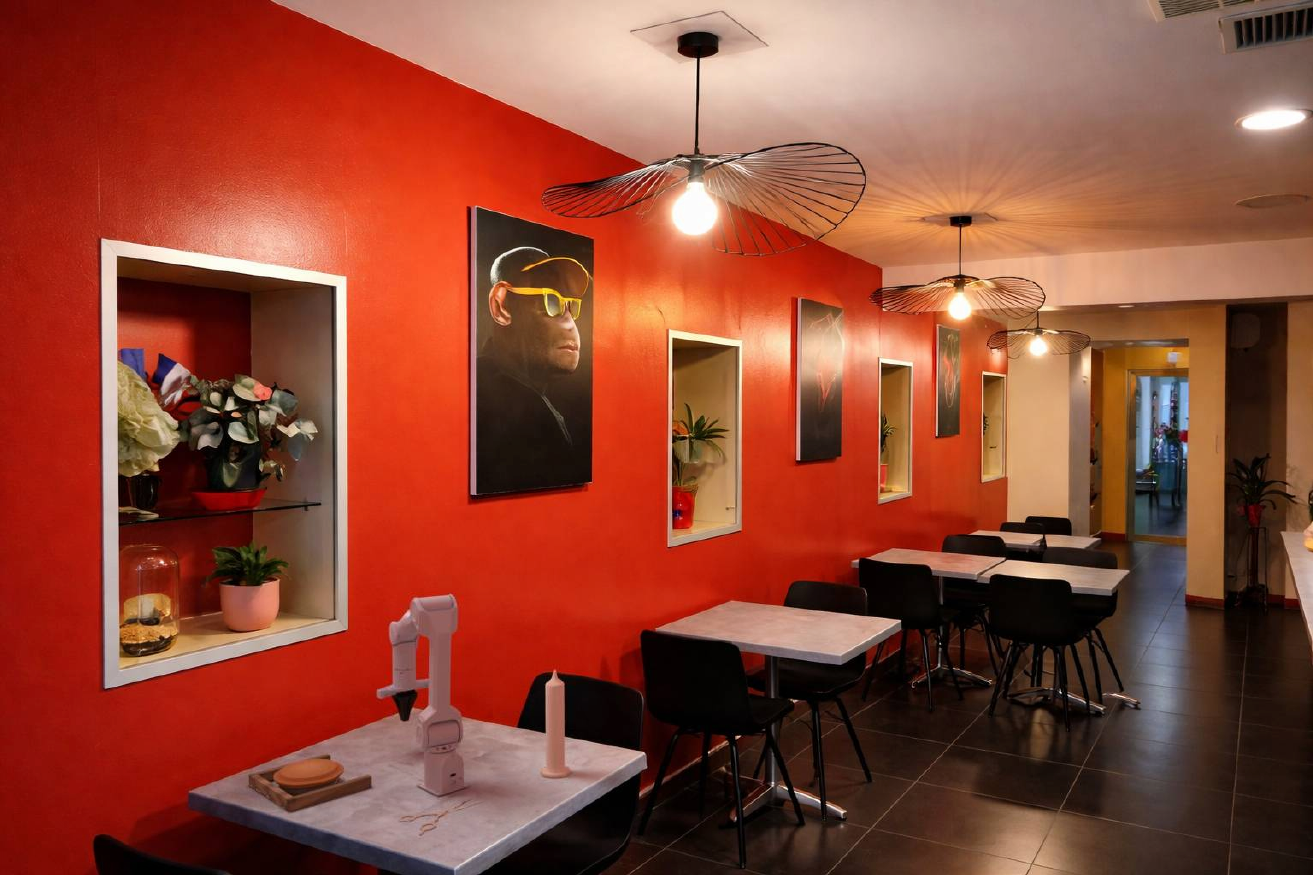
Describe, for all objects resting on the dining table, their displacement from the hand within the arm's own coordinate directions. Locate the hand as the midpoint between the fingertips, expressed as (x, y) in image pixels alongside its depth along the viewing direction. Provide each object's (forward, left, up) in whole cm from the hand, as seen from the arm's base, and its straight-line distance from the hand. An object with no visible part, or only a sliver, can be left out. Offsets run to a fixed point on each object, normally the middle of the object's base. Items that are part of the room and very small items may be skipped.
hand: (404, 720), depth 242 cm
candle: (-39, -18, -9) cm, 44 cm away
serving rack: (-4, +27, -8) cm, 28 cm away
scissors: (-40, +14, -9) cm, 43 cm away
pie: (-4, +28, -9) cm, 29 cm away
